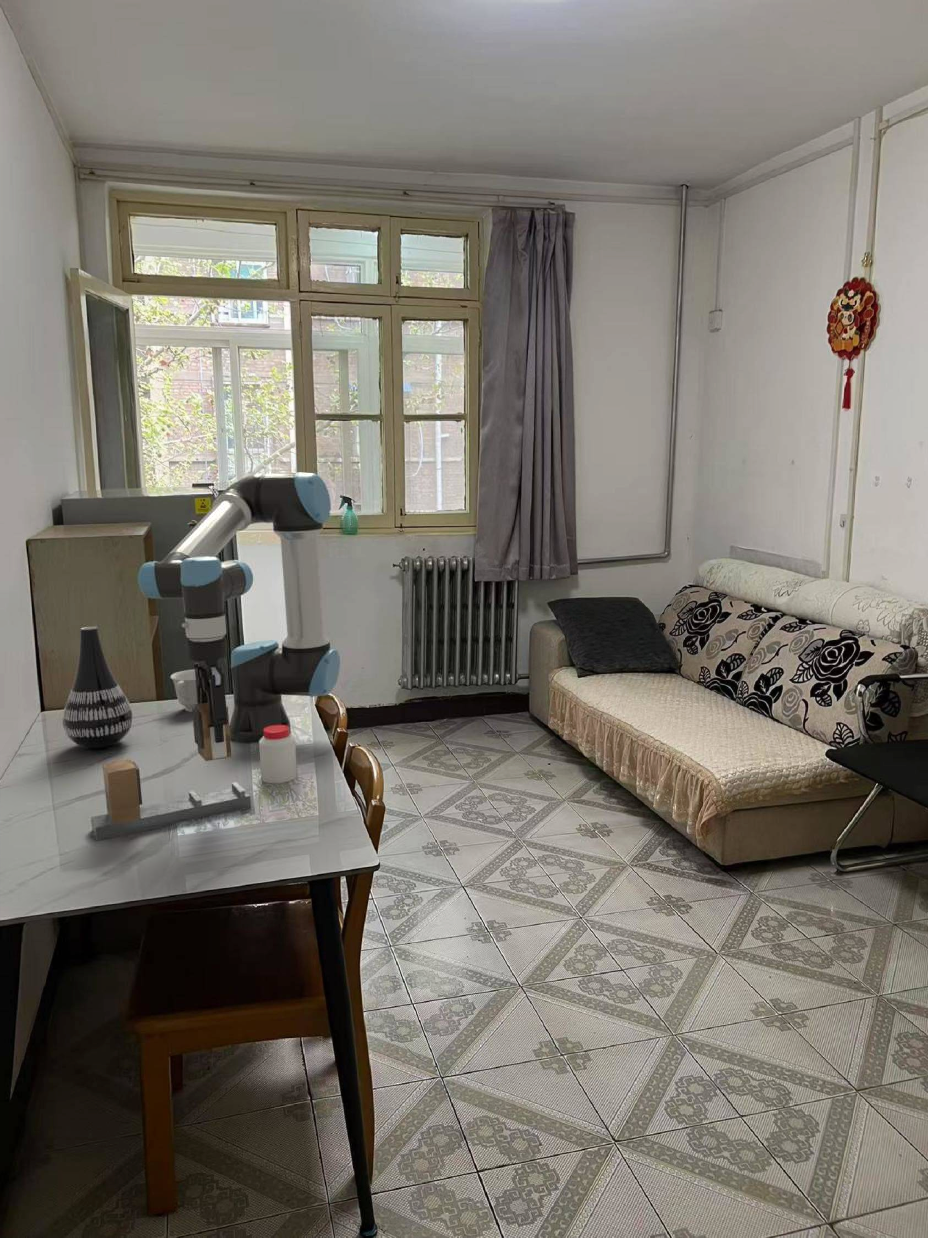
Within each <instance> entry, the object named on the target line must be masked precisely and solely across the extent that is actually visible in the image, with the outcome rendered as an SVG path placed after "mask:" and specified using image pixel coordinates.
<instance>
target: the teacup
mask: <svg viewBox="0 0 928 1238" xmlns="http://www.w3.org/2000/svg"><path fill="white" fill-rule="evenodd" d="M170 679H171V680H172V681H173V685H174V690H175V693H176V697H177V700H178V703H179V704H181V705H182V706H183V707H185V708H184V709H185V711H186V712H190V713H192V708H194V707H195V706H194V704H197V693H196V677H195V669H186V670H182V671H181V670H180V671H177V672H174V673H172V674H171V675H170Z"/></svg>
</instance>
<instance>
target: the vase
mask: <svg viewBox="0 0 928 1238" xmlns="http://www.w3.org/2000/svg"><path fill="white" fill-rule="evenodd" d="M79 636H80V637H79V651H78V663H77V668H76V672H75V677H74V680H73V684H72V686H71V690H70V692H69V695H68V698H67V701H66V703H65V706H64V708H63V714H62V728H63V730H64V733H65V735H67V737H68V739H70V741H72V743H74V744H76V745H77V746H80V747H81V748H82V747H83V748H86V749H87V750H89V751H101V750H107V749H110V748H113V747H114V746H115V745H116V744H117V743H119V742H120V741H122V740H123V739H124V738H125V737H126V736H127V735H128V734H129V732H130V730H131V727H132V725H133V721H134V719H133V718H134V715H133V710H132V705H131V704H130V702H129V700H128V698H127V696H126V694H125V693H124V692H123V690H122V688H121V687H120V685H119V683H118V682H117V681H116V680H117V679H116V678H115V676H114V675H113V673H112V670H111V669H110V667H109V664H108V661H107V658H106V656H105V652H104V649H103V645H102V642H101V637H100V634H99V628H98V626H85V627H81V628H80V629H79Z"/></svg>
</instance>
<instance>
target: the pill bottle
mask: <svg viewBox="0 0 928 1238" xmlns="http://www.w3.org/2000/svg"><path fill="white" fill-rule="evenodd" d="M263 731H264V736H263V737H262V738H261V739H260V740H259V742H258V750H259V761H260V765H259V766H260V777H261V780H262V781H263V782H265V783H268V784H282V783H286V782H290V781H293V780H295V779H296V778H298V764H297V761H298V760H297V747H296V738H295V736H293V735H292V734H291V732H290V733H289V727H288V726H286V725H273V726H268V727H266V728H264V729H263Z"/></svg>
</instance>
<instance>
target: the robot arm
mask: <svg viewBox="0 0 928 1238" xmlns="http://www.w3.org/2000/svg"><path fill="white" fill-rule="evenodd" d="M331 506H332V505H331V497H330V493H329V489H328V487H327V485H326V483H325V482H324V480H323V478H321V476H320V475H318V474H316V473H313V472H301V471H298V472H278V473H275V472H274V473H256V474H252V475H248V476H246V477H243V478H242V479H240V480H238V481H236V482H234V483H232V484H231V485H230V486H228V487H227V488H225V489H224V490H223V491H222V492H220V494H218V496H217V497H216V498H215V499H214V500H213V502H212V504H211V509H210V510H209V511H208V512H207V513H206V514H205V516H203V518H201V520H200V521H199V522H198V523H197V524H196V525H195V526H193V528H192V529H191V531H189V533H187V534H186V536H184V538H183V539H182V540H181V541H179V542H178V544H177V545H176V546H174V548H173V549H172V550H170V552H169V553H168V554H167V555H166V556H165V557H164V558H163V559H162V560H161V561H157V560H154V561H148V562H145V563H144V564H143V563H142V565H141V567H139V571H138V576H137V584H138V587H139V590H140V592H141V594H142V595H143V596H144V597H146V598H148V599H159V600H160V599H161V600H171V599H173V600H174V599H175V600H176V599H177V600H178V599H179V600H181V599H182V601H183V602H182V603H183V615H184V616H183V617H184V621H185V622H183V623H182V624H181V626H182V628H184V629H185V636H186V638H187V641H186V643H185V645H186V646H185V647H186V655H187V659H189V660H190V661H195V663H193V668H194V669H195V677H196V693H197V704H199V703H206V702H208V706H209V713H210V719H211V724H208V725H207V726H208V728H209V727H210V737H211V750H212V759H215V760H218V759H217V758H221V759H223V758H222V757H226V758H228V757H227V750H226V736H225V724H228V719H227V709H226V706H227V700H226V689H225V674H224V673H223V671H222V666H221V667H220V666H219V663H218V662H219V660H220V659H224V658H225V657H227V655H228V640H227V637H225V636H226V634H227V625H226V624H227V622H226V613H225V602H226V601H230V600H233V599H237V598H240V597H241V596H243V595H244V594H246V593H248V592H249V591H250V589H251V588H252V587H253V583H254V573H253V570H252V569H251V567H250V566H249V565H248V564H247V563H246V562H244V561H242V560H239V559H227V560H224V561H221V560H220V559H219V558H218V557H217V555H218V554H220V552H221V551H222V550H223V549H224V547H226V546H227V544H228V543H229V542H230V541H231V540H232V539H233V538H234V537H235V535H236V534H237V533H238V532H241V531H245V530H246V529H247V528H248V527H249V526H250V525H254V524H258V523H260V524H261V523H266V524H270V523H271V524H272V527H273V532H274V533H275V534H276V535H277V536H278V537H279V539H280V548H281V564H282V577H283V591H284V592H283V593H284V602H285V603H284V605H285V617H286V618H285V619H286V620H285V621H286V633H287V634H286V635H287V636H286V638H284V640H283V641H282V642H281V647H279V646H280V644H279V642H278V641H277V640H274V639H273V640H272V639H271V640H262V641H256V642H250V643H247V644H243V645H239V646H238V647H236V648H234V649H233V650H232V652H231V653H230V654H231V655H230V656H231V657H230V669H231V680H232V692H233V705H234V706H233V711H232V713H231V714H232V715H231V718H230V721H229V728H230V740H232V741H235V742H239V743H249V744H250V743H251V744H253V743H259V740H260V739H261V738H262V737H263V736H264V731H263V729H264V728H266V727H268V726H273V725H286V726H288V727H289V733H290V734H291V732H292V730H291V727H292V726H291V722H290V718H289V716H288V714H287V712H286V709H285V707H284V704H283V699H282V698H283V697H282V696H299V697H300V696H303V697H304V696H305V697H311V698H313V697H325V696H327V695H329V694H330V693H331V692H332V691H333V690H334V688H335V687H336V685H337V682H338V679H339V676H340V675H339V674H340V669H341V668H340V667H341V658H340V655H339V651H338V650H337V649H335V648H331V640H330V638H328V637H327V636H326V635H325V633H324V627H323V624H324V623H323V612H322V611H323V610H322V596H321V580H320V577H321V576H320V566H319V565H320V564H319V547H318V536H319V534H321V532H322V531H323V530H324V526H323V524H324V523H326V522H327V521H328V520H329V519H330V517H331Z"/></svg>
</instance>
